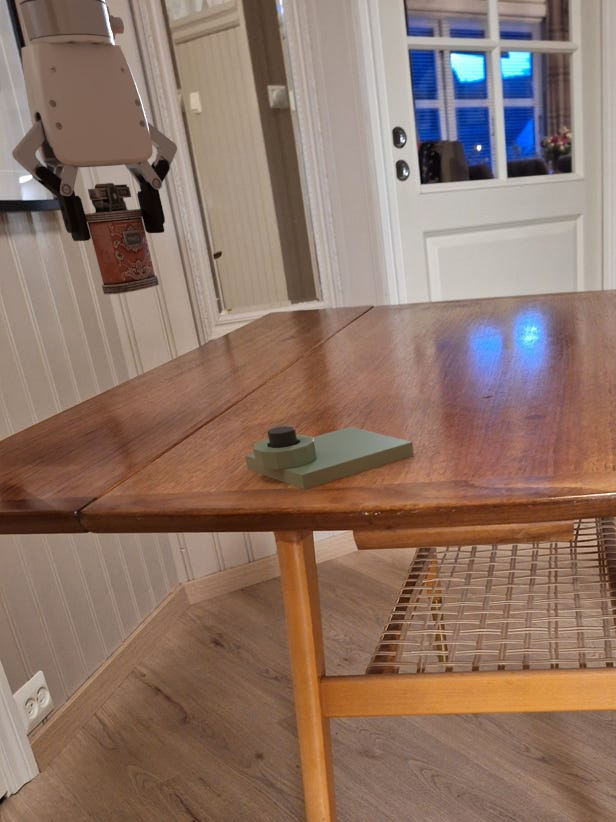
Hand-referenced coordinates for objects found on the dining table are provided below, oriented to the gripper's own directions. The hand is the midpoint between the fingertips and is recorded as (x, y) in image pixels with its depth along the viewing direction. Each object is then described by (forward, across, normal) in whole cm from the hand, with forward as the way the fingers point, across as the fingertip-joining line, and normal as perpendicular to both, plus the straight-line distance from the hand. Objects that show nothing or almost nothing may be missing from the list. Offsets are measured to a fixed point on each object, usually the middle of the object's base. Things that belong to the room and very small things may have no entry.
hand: (119, 235), depth 90 cm
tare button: (+17, +2, +29) cm, 34 cm away
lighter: (+5, 0, 0) cm, 5 cm away
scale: (+20, -2, +30) cm, 36 cm away
